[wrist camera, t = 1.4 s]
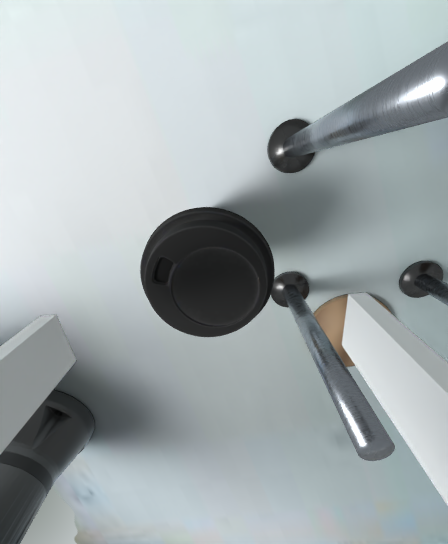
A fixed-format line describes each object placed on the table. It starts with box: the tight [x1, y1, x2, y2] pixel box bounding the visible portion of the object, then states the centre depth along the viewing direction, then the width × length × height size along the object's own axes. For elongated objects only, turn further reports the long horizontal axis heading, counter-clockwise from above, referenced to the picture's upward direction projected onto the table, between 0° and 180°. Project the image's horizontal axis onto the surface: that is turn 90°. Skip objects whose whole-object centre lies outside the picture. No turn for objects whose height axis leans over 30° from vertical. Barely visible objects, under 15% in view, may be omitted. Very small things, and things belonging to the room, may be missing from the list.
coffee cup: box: [140, 207, 274, 337], centre depth 22 cm, size 9×9×15 cm
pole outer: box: [268, 42, 448, 173], centre depth 16 cm, size 5×5×20 cm
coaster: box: [313, 294, 392, 367], centre depth 34 cm, size 12×12×1 cm
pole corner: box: [271, 272, 395, 461], centre depth 22 cm, size 5×5×20 cm
